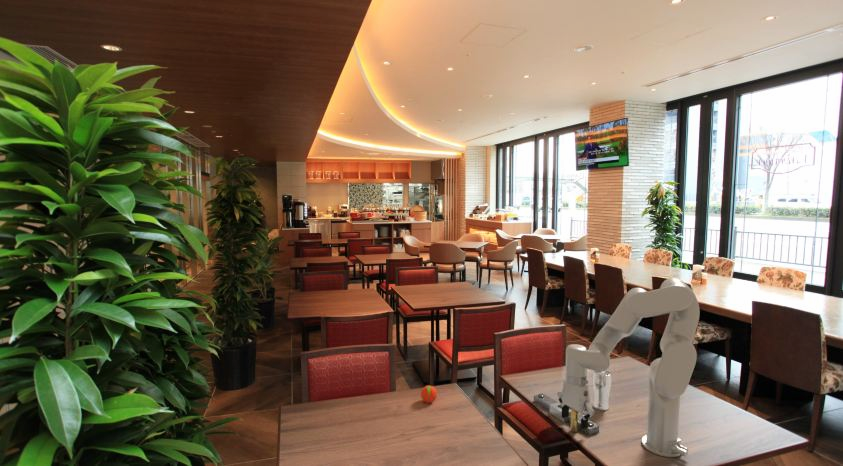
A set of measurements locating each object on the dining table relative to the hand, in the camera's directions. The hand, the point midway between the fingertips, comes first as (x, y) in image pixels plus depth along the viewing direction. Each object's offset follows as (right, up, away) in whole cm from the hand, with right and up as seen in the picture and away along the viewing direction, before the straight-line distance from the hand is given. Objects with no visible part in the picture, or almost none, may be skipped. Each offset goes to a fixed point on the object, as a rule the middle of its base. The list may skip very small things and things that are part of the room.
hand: (574, 422), depth 163 cm
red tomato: (-54, -1, +23) cm, 59 cm away
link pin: (0, -3, 0) cm, 3 cm away
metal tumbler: (+18, -2, +18) cm, 26 cm away
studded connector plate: (0, -2, +11) cm, 12 cm away
